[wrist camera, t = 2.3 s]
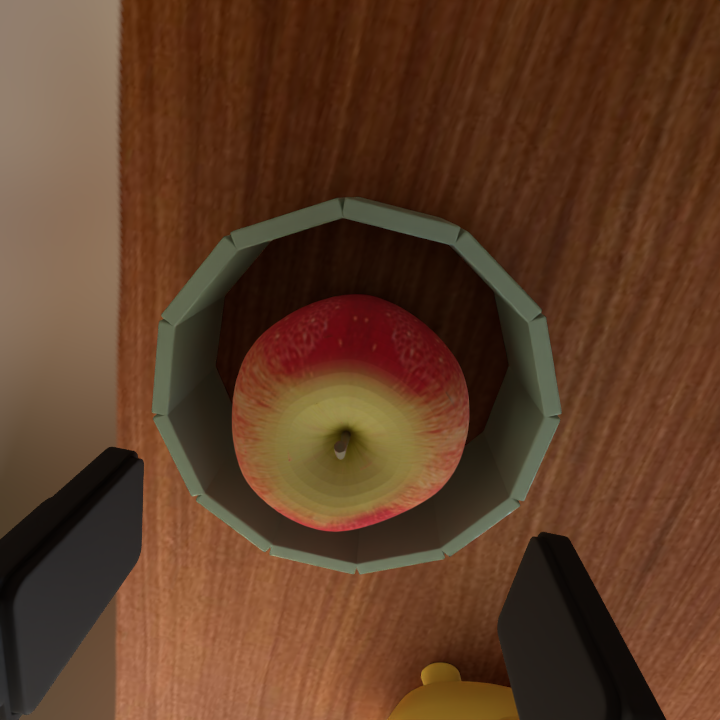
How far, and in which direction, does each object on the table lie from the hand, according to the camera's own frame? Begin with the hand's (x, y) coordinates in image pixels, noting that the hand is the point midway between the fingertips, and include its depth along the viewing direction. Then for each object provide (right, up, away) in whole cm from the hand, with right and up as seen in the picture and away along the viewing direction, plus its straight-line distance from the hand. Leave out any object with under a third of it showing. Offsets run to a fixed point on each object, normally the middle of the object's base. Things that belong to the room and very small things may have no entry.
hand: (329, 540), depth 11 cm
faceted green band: (+1, +4, +10) cm, 11 cm away
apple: (+1, +4, +10) cm, 11 cm away
